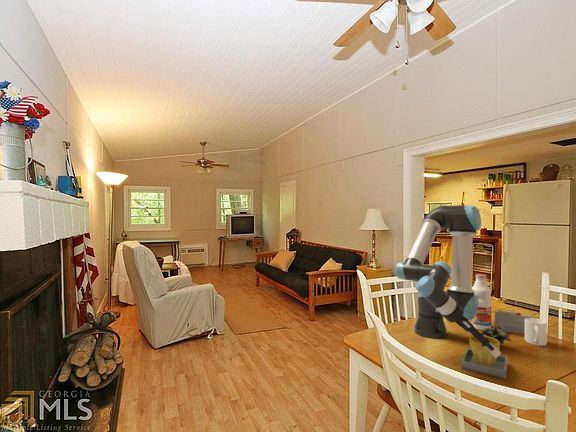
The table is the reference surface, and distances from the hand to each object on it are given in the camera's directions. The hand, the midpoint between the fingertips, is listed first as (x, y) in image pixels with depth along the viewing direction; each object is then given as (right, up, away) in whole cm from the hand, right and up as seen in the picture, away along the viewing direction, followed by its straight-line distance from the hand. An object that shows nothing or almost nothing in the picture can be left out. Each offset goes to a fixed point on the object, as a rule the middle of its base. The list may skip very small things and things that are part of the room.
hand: (488, 347), depth 130 cm
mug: (+35, -7, +22) cm, 42 cm away
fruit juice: (+22, -7, +43) cm, 49 cm away
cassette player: (+36, -7, +38) cm, 52 cm away
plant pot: (-2, -7, +1) cm, 7 cm away
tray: (-2, -7, 0) cm, 8 cm away
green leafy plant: (+14, -7, +19) cm, 25 cm away
